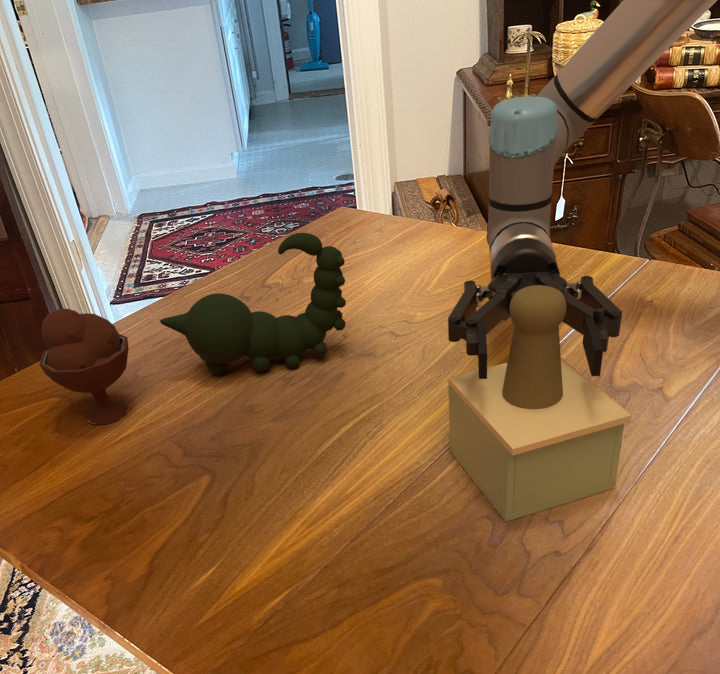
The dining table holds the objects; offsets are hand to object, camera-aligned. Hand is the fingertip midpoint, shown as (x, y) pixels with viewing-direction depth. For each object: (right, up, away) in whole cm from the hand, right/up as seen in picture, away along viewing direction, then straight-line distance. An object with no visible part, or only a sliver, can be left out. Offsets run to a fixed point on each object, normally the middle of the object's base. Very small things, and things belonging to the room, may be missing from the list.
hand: (539, 364), depth 67 cm
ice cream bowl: (-50, -2, +31) cm, 59 cm away
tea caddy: (+2, -9, +13) cm, 16 cm away
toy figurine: (-30, +6, +37) cm, 48 cm away
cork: (+1, -2, +7) cm, 7 cm away
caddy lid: (+1, -3, +7) cm, 8 cm away
